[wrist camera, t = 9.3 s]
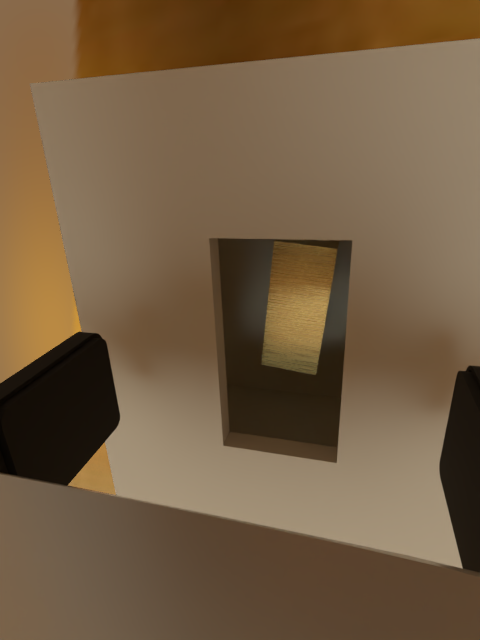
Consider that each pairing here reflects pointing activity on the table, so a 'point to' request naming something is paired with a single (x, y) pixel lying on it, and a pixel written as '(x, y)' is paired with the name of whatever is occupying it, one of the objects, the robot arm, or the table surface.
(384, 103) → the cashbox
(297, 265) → the wooden block
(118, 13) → the table surface
